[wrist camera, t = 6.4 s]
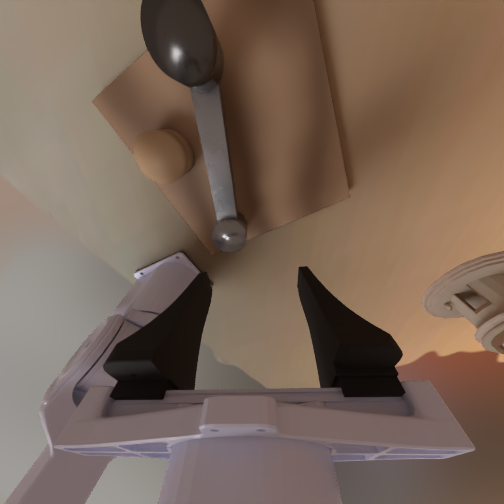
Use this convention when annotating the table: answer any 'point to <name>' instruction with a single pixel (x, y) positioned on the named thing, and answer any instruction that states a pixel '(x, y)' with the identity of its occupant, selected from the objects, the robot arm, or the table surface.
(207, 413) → the robot arm
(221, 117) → the lever
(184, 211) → the board
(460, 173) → the table surface
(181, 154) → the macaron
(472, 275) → the miniature windmill
